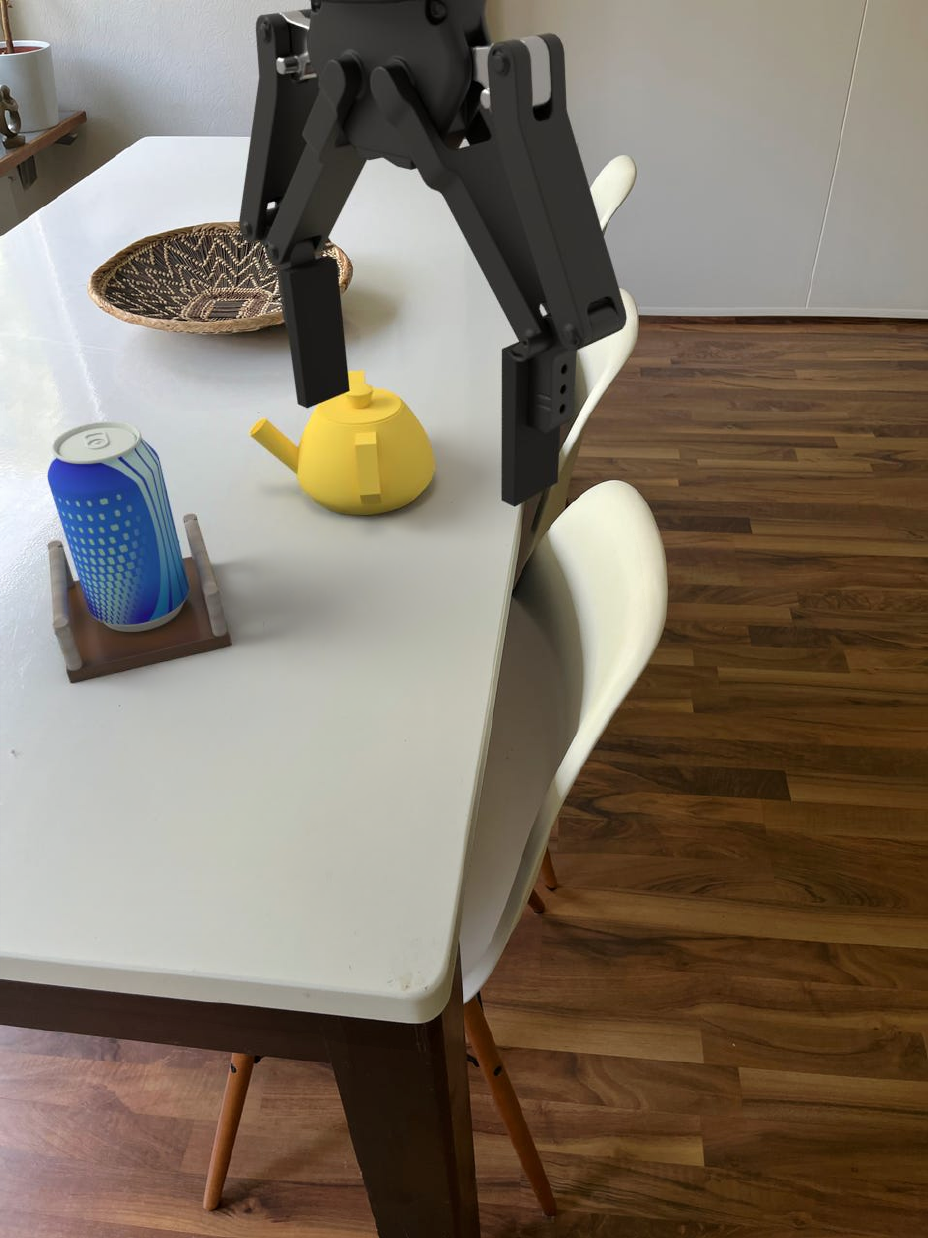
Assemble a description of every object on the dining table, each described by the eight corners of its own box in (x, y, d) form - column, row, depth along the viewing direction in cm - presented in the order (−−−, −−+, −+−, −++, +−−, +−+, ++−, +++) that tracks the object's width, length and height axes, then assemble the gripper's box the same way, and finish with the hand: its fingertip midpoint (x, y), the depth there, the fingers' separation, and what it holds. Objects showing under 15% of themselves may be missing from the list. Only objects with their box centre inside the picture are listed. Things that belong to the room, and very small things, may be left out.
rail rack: (232, 645, 83) (220, 591, 79) (70, 684, 79) (51, 629, 76) (207, 563, 92) (196, 512, 89) (63, 594, 89) (45, 541, 86)
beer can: (208, 586, 87) (172, 421, 78) (162, 644, 81) (116, 472, 71) (124, 574, 89) (78, 411, 79) (72, 630, 83) (15, 460, 73)
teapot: (259, 451, 110) (243, 357, 103) (422, 436, 112) (417, 342, 105) (259, 549, 94) (241, 445, 87) (449, 528, 96) (445, 425, 90)
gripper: (790, -162, 27) (696, 504, 40) (253, -143, 41) (312, 345, 54) (623, -161, 23) (578, 583, 36) (90, -140, 37) (195, 389, 50)
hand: (418, 441), depth 45 cm, fingers open, 13 cm apart
